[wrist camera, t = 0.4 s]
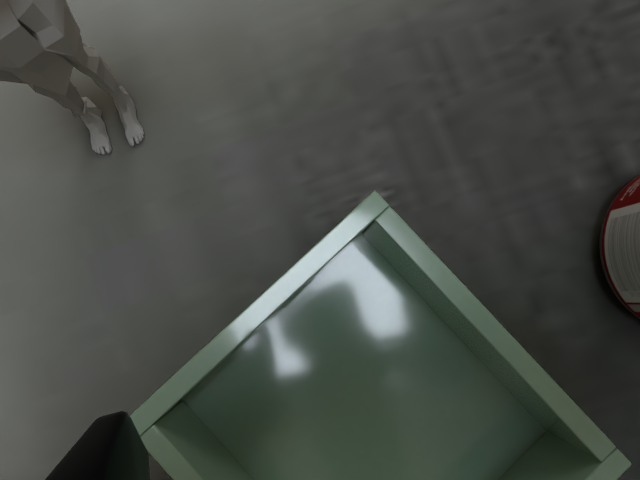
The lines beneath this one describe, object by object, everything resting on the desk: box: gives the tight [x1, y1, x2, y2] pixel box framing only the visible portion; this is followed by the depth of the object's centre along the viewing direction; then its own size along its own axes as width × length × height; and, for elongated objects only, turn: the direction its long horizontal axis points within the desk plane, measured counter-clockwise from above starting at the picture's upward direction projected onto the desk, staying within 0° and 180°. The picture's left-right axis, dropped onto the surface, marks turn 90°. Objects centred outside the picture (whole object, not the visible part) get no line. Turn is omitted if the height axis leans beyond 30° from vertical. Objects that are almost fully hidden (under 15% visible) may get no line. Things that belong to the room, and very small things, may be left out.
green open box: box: [129, 191, 631, 480], centre depth 21 cm, size 12×11×5 cm
